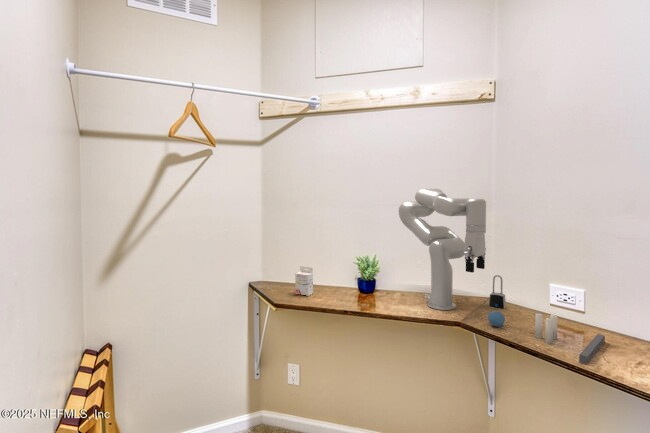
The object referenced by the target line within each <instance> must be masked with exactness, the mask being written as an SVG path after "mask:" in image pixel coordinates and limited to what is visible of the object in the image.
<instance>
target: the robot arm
mask: <svg viewBox="0 0 650 433" xmlns="http://www.w3.org/2000/svg"><path fill="white" fill-rule="evenodd" d="M414 199H415V200H411V201H409V200H408V201H405V202H402V203H401V204H400V205H399V207H398V215H399V218H400V222H402V224H403V225H404V226H405V227H406V228H407V229H408V230H409V231H411V232H412V234H413V235H415V237H416V238H417V239H418V240H419V241H420V242H421V243H422V244H423V245H425V246H428V252H429V258H430V273H431V274H430V294H429V293H424V299H425V300H428V302H427V306H428V307H429V308H430V309H433V310H439V311H451V310H455V309H456V308H457V305H456V303H454V302H453V266H452V264H451V262H450V260H454V259H461V258H463V257H464V261H465V272H467V273H475V263H476V269H480V270H481V269H482V270H485V263H486V262H485V260H486V250H487V247H486V236H485V235H486V232H487V231H486V230H487V201H486V200H485V199H484V198H465V197H464V198H463V197H461V198H455V197H454V198H449V197H448V196H447V194H446V193H445V192H443V190H442V189H440V188H421V189H419V190H417V192H416V193H415V195H414ZM434 212H436V213H437V214H440V215H443V216H446V217H447V216H448V217H465V238H464V241H463V239H461V237H459V236H458V235H457V234H456V233H455V232H454V231H453V230H451V229H450V228H449V227H448V226H444V225H441V226H440V225H436V226H433V225H431V224H429V223H428V222H427V221H426V220H425V219H423V218H426V216H427V217H429V216H431V215H432V214H433V213H434ZM475 258H476V262H474V260H475Z"/></svg>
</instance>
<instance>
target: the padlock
mask: <svg viewBox="0 0 650 433" xmlns="http://www.w3.org/2000/svg"><path fill="white" fill-rule="evenodd" d="M496 278H500V292H495V283H496V282H495V281H496ZM506 302H507V301H506V294H504V292H503V277H502V276H501V275H499V274H496V275H494V276H493V278H492V291H491V293H490V294H489V300H488V307H489V308H493V307H494V309H499V308H500V309H501V310H505V309H506V308H507V304H506Z"/></svg>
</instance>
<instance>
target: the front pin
mask: <svg viewBox="0 0 650 433" xmlns="http://www.w3.org/2000/svg"><path fill="white" fill-rule="evenodd" d="M543 315H544V314H542V313H535V317H534V318H535V319H534V320H535V324H534V325H535V326H534V337H535V338H536V339H539V340H540V339H543V321H544V320H543V317H544V316H543Z"/></svg>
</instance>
